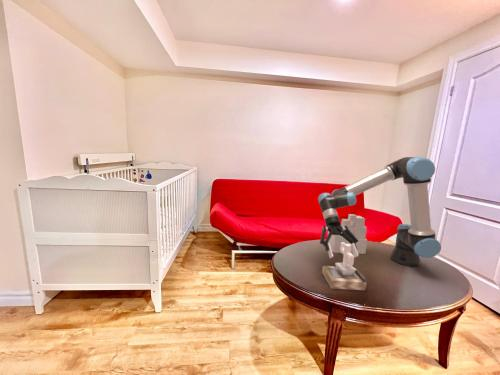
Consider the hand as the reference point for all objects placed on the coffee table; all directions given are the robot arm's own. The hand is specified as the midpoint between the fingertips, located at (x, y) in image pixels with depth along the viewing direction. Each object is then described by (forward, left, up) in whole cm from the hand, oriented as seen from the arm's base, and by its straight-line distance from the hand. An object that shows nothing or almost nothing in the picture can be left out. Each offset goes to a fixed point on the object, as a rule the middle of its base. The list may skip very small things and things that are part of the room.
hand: (344, 256), depth 107 cm
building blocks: (-19, -40, -13) cm, 46 cm away
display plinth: (0, 0, -13) cm, 13 cm away
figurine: (-1, 0, -9) cm, 9 cm away
